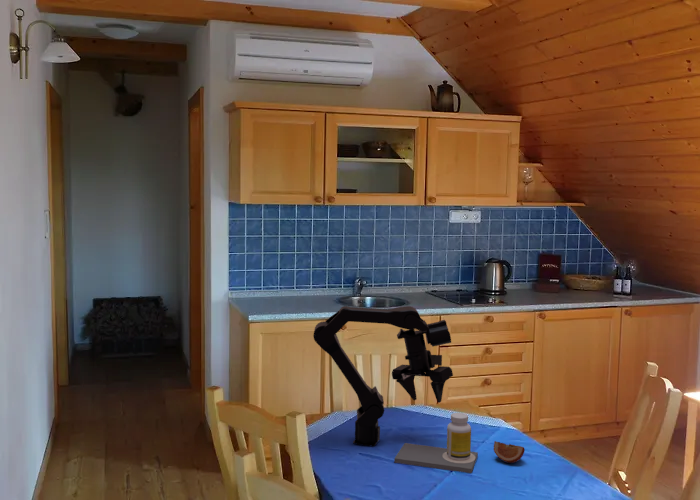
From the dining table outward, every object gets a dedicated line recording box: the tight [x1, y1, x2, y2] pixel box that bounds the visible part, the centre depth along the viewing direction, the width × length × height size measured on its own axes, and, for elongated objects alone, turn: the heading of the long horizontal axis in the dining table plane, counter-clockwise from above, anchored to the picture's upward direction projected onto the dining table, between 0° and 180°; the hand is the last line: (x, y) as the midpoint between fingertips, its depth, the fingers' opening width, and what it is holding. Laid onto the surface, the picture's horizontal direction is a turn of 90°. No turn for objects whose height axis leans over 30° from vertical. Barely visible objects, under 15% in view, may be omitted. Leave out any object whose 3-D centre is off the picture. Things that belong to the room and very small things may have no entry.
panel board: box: [393, 442, 479, 474], centre depth 199 cm, size 21×12×1 cm, turn 72°
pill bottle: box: [446, 412, 472, 460], centre depth 198 cm, size 6×6×12 cm
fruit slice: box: [493, 440, 525, 464], centre depth 199 cm, size 8×7×5 cm
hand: (427, 401), depth 211 cm, fingers open, 9 cm apart
